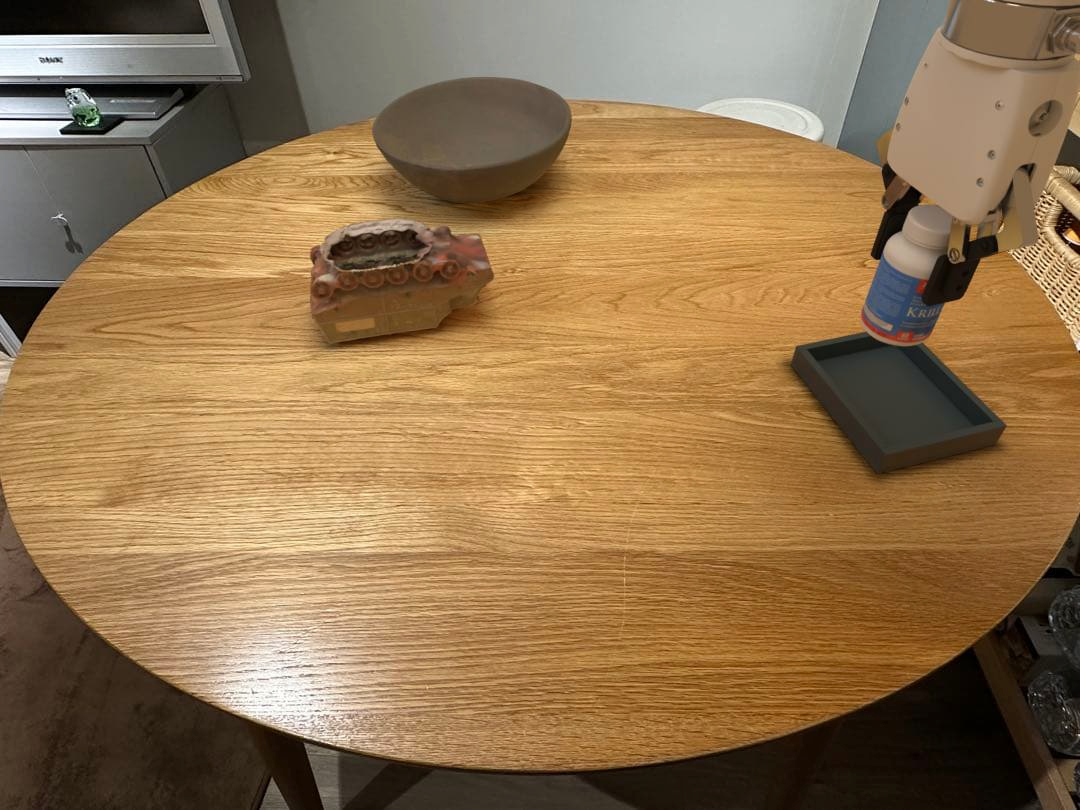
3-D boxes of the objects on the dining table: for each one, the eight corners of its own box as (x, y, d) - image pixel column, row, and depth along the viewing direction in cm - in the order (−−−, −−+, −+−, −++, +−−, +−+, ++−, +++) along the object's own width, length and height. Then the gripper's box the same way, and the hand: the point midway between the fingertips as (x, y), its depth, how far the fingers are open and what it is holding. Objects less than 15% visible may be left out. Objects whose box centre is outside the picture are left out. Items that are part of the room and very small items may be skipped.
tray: (995, 444, 72) (1007, 425, 70) (877, 474, 69) (885, 455, 67) (896, 342, 82) (903, 323, 81) (790, 364, 80) (795, 345, 78)
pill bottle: (898, 357, 59) (943, 247, 52) (844, 320, 62) (880, 212, 55) (945, 333, 61) (995, 224, 54) (891, 299, 64) (931, 191, 57)
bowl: (593, 218, 101) (596, 146, 94) (391, 246, 97) (379, 172, 90) (546, 133, 120) (545, 67, 113) (375, 153, 115) (363, 86, 109)
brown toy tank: (323, 281, 92) (305, 209, 85) (491, 270, 93) (486, 197, 86) (312, 353, 82) (291, 277, 76) (498, 338, 84) (494, 263, 77)
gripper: (1191, 65, 40) (1039, 336, 53) (969, -26, 52) (888, 213, 65) (1074, 83, 39) (946, 358, 51) (872, -15, 50) (809, 228, 63)
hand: (914, 275), depth 58 cm, fingers closed on pill bottle, 5 cm apart
